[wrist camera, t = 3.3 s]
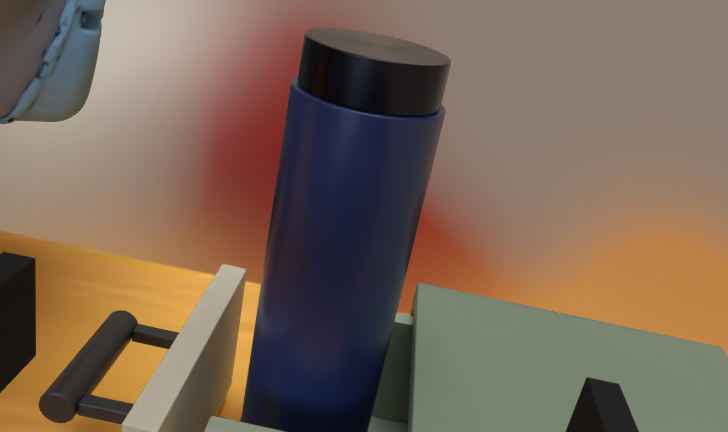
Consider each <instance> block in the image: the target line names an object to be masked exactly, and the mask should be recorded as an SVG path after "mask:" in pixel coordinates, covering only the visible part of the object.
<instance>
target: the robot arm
mask: <svg viewBox="0 0 728 432" xmlns="http://www.w3.org/2000/svg"><path fill="white" fill-rule="evenodd" d="M105 1H106V0H0V124H6V123H11V122H14V121H43V122H57V121H63V120H66V119H69V118H70V117H72V116H74V115H75V114H76V113H78V112H79V111H80V110H81V108H82V107H83V106H84V104H85V102H86V100H87V97H88V95H89V92H90V88H91V84H92V80H93V76H94V71H95V67H96V61H97V56H98V50H99V44H100V37H101V19H102V17H103V12H104V5H105ZM35 356H36V290H35V258H30V257H26V256H21V255H17V254H12V253H7V252H3V253H1V254H0V393H1V392H2V391H3V389H4V388H5V387H6V386H7V385H8V384H9V383H10V382H11V381H12V380H13V379H14V378H15V377H16V376H17V375H18V374H19V373H20V371H21V370H22V369H23V368H24V367H25V366H26V365H27V364H28V363H29V362H30V361H31V360H32V359H33V358H34V357H35ZM565 432H639V431H638V428H637V426H636V423H635V421H634V419H633V416H632V414H631V411H630V409H629V406H628V404H627V402H626V399H625V397H624V394H623V392H622V389H621V387H620V385H619V384H617V383H613V382H608V381H603V380H599V379H594V378H589V377H586V380H585V383H584V385H583V388H582V390H581V393H580V395H579V398H578V401H577V403H576V406H575V408H574V411H573V413H572V416H571V419H570V421H569V424H568V426H567V429H566V431H565Z"/></svg>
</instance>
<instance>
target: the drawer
mask: <svg viewBox="0 0 728 432" xmlns="http://www.w3.org/2000/svg"><path fill="white" fill-rule="evenodd" d="M246 272H247V270H246V269H243V268H239V267H234V266H230V265H225V264H223V265H222V266H221V267H220V269H219V271H218V272H217V274H216V275H215V277H214V278H213V280H212V282H211V283H210V285H209V286H208V288H207V290H206V291H205V293H204V294H203V296H202V298H201V299H200V301H199V302H198V304H197V305H196V307H195V309H194V310H193V312H192V313H191V315H190V317H189V318H188V320H187V321H186V323H185V325H184V326H183V328H182V329H181V331H180V332H179V333H177V332H173V331H168V330H164V329H159V328H154V327H150V326H145V325H140V324H138V322H137V320H136V318H135V317H134V316H133V315H132V314H131V313H129V312H126V311H121V310H120V311H115V312H113V313H111V314H110V316H109V317H108V318H107V319H106V320H105V322H104V323H103V324H102V325H101V326H100V327H99V329H98V330H97V331H96V332H95V333H94V335H93V336H92V337H91V338H90V339H89V341H88V342H87V343H86V344H85V345H84V347H83V348H82V349H81V350H80V351H79V352H78V354H77V355H76V356H75V357H74V358H73V360H72V361H71V362H70V363H69V364H68V366H67V367H66V368H65V369H64V370H63V372H62V373H61V374H60V375H59V376H58V377H57V379H56V380H55V381H54V382H53V383H52V385H51V386H50V387H49V388H48V389H47V391H46V392H45V393H44V394H43V395H42V397H41V398H40V401H39V408H40V411H41V412H42V414H43V415H44V416H45V417H46V418H47V419H49V420H51V421H53V422H56V423H66V422H68V421H70V420H72V419H73V418H74V416H75V415H76V414H77V412H78V415H80V416H85V417H90V418H94V419H99V420H104V421H108V422H113V423H117V424H122V429H121V432H285V431H281V430H276V429H271V428H267V427H262V426H257V425H253V424H248V423H244V422H241V420H240V422H239V421H234V420H230V419H225V418H220V417H217V415H218V413H219V410H220V408H221V406H222V404H223V401H224V399H225V397H226V395H227V392H228V390H229V388H230V386H231V382H232V375H233V367H234V360H235V353H236V345H237V338H238V331H239V323H240V316H241V309H242V302H243V294H244V287H245V280H246ZM412 336H413V316H408V315H404V314H399V313H396V317H395V321H394V325H393V330H392V334H391V338H390V342H389V346H388V350H387V354H386V358H385V362H384V366H383V371H382V375H381V379H380V383H379V387H378V391H377V395H376V399H375V403H374V408H373V412H372V416H371V420H370V424H369V428H368V432H408V418H409V398H410V377H411V357H412ZM131 339H132V341H134V342H138V343H143V344H148V345H152V346H157V347H161V348H166V349H169V350H168V351H167V353H166V355H165V356H164V358H163V359H162V361H161V363H160V364H159V366H158V367H157V369H156V371H155V372H154V374H153V375H152V377H151V378H150V380H149V382H148V383H147V385H146V386H145V388H144V390H143V391H142V393H141V394H140V396H139V398H138V399H137V401H136V402H135V404H130V403H125V402H121V401H116V400H111V399H107V398H102V397H98V396H93V395H91V393H92V392H93V391H94V389H95V388H96V387H97V385H98V384H99V383H100V381H101V380H102V378H103V377H104V376H105V374H106V373H107V372H108V370H109V369H110V368H111V366H112V365H113V364H114V362H115V361H116V360H117V358H118V357H119V355H120V354H121V353H122V351H123V350H124V349H125V347H126V346H127V345H128V343H129V342H130V341H131ZM241 418H242V417H241Z"/></svg>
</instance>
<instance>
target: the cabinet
mask: <svg viewBox="0 0 728 432" xmlns="http://www.w3.org/2000/svg"><path fill="white" fill-rule="evenodd" d="M409 316H413V336H412V357H411V377H410V398H409V418H408V432H565V431H566V429H567V426H568V424H569V421H570V419H571V416H572V413H573V411H574V408H575V406H576V403H577V401H578V398H579V395H580V393H581V390H582V388H583V385H584V383H585V380H586V377H589V378H594V379H599V380H603V381H608V382H613V383H617V384H619V385H620V387H621V389H622V392H623V394H624V397H625V399H626V402H627V404H628V406H629V409H630V411H631V414H632V416H633V419H634V421H635V423H636V426H637V428H638V431H639V432H728V357H727V355H726V354H725V352H724V351H723V349H722V348H721V347H718V346H713V345H708V344H704V343H699V342H694V341H690V340H685V339H680V338H676V337H670V336H666V335H662V334H657V333H652V332H648V331H643V330H638V329H633V328H629V327H624V326H619V325H615V324H610V323H605V322H601V321H596V320H591V319H587V318H582V317H577V316H573V315H568V314H563V313H559V312H554V311H549V310H545V309H539V308H535V307H530V306H525V305H521V304H516V303H512V302H507V301H502V300H498V299H492V298H488V297H484V296H479V295H474V294H470V293H465V292H460V291H455V290H451V289H446V288H441V287H437V286H432V285H427V284H423V283H418V284H417V288H416V291H415V295H414V299H413V303H412V307H411V311H410V315H409Z"/></svg>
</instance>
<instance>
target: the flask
mask: <svg viewBox="0 0 728 432" xmlns="http://www.w3.org/2000/svg"><path fill="white" fill-rule="evenodd" d="M450 65H451V60H450V59H449V58H448V57H447V56H445V55H444V54H442V53H440V52H438V51H435V50H433V49H430V48H428V47H425V46H421V45H419V44H416V43H412V42H409V41H405V40H401V39H397V38H393V37H389V36H384V35H379V34H374V33H368V32H362V31H356V30H348V29H338V28H314V29H310V30H307V31H306V32H305V35H304V41H303V48H302V55H301V61H300V68H299V75H298V76H296V77H294V78H293V80H292V81H291V86H290V93H289V100H288V107H287V113H286V120H285V127H284V134H283V140H282V147H281V154H280V161H279V167H278V174H277V181H276V188H275V194H274V201H273V208H272V215H271V222H270V229H269V235H268V242H267V249H266V256H265V262H264V269H263V276H262V282H261V289H260V296H259V303H258V309H257V316H256V323H255V330H254V337H253V343H252V350H251V357H250V364H249V370H248V377H247V384H246V391H245V397H244V404H243V411H242V418H241V422H244V423H248V424H253V425H257V426H262V427H267V428H271V429H276V430H281V431H285V432H368V428H369V424H370V420H371V416H372V412H373V408H374V403H375V399H376V395H377V391H378V387H379V383H380V379H381V375H382V371H383V366H384V362H385V358H386V354H387V350H388V346H389V342H390V338H391V334H392V330H393V325H394V321H395V317H396V313H397V309H398V305H399V301H400V297H401V293H402V288H403V284H404V280H405V276H406V272H407V268H408V263H409V259H410V256H411V251H412V247H413V243H414V239H415V235H416V231H417V227H418V223H419V219H420V214H421V210H422V206H423V202H424V198H425V194H426V190H427V186H428V182H429V178H430V173H431V169H432V165H433V161H434V157H435V153H436V148H437V145H438V141H439V136H440V132H441V128H442V124H443V120H444V115H445V108H444V107H443V105H442V104H441V102H442V98H443V94H444V90H445V86H446V81H447V77H448V73H449V69H450Z"/></svg>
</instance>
